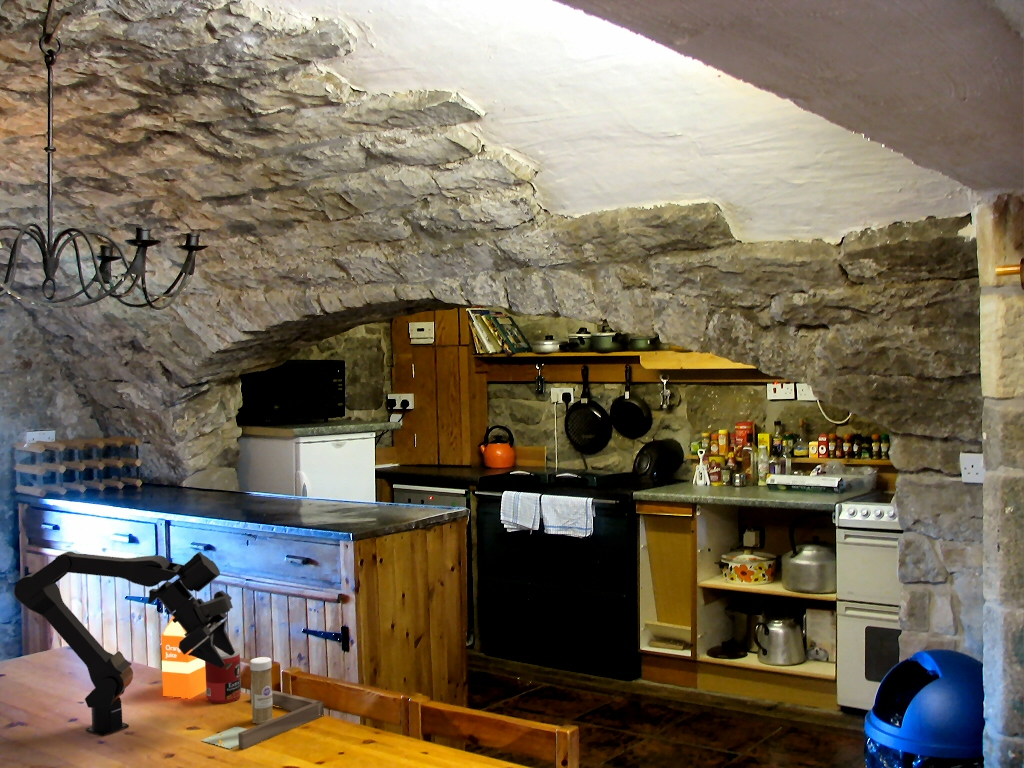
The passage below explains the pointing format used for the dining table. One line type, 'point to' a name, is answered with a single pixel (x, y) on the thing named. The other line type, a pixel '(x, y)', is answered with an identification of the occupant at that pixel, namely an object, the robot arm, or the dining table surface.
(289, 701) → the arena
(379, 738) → the dining table surface
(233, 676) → the canned food
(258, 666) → the sprinkles bottle
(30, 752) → the dining table surface
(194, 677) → the orange juice
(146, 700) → the dining table surface
